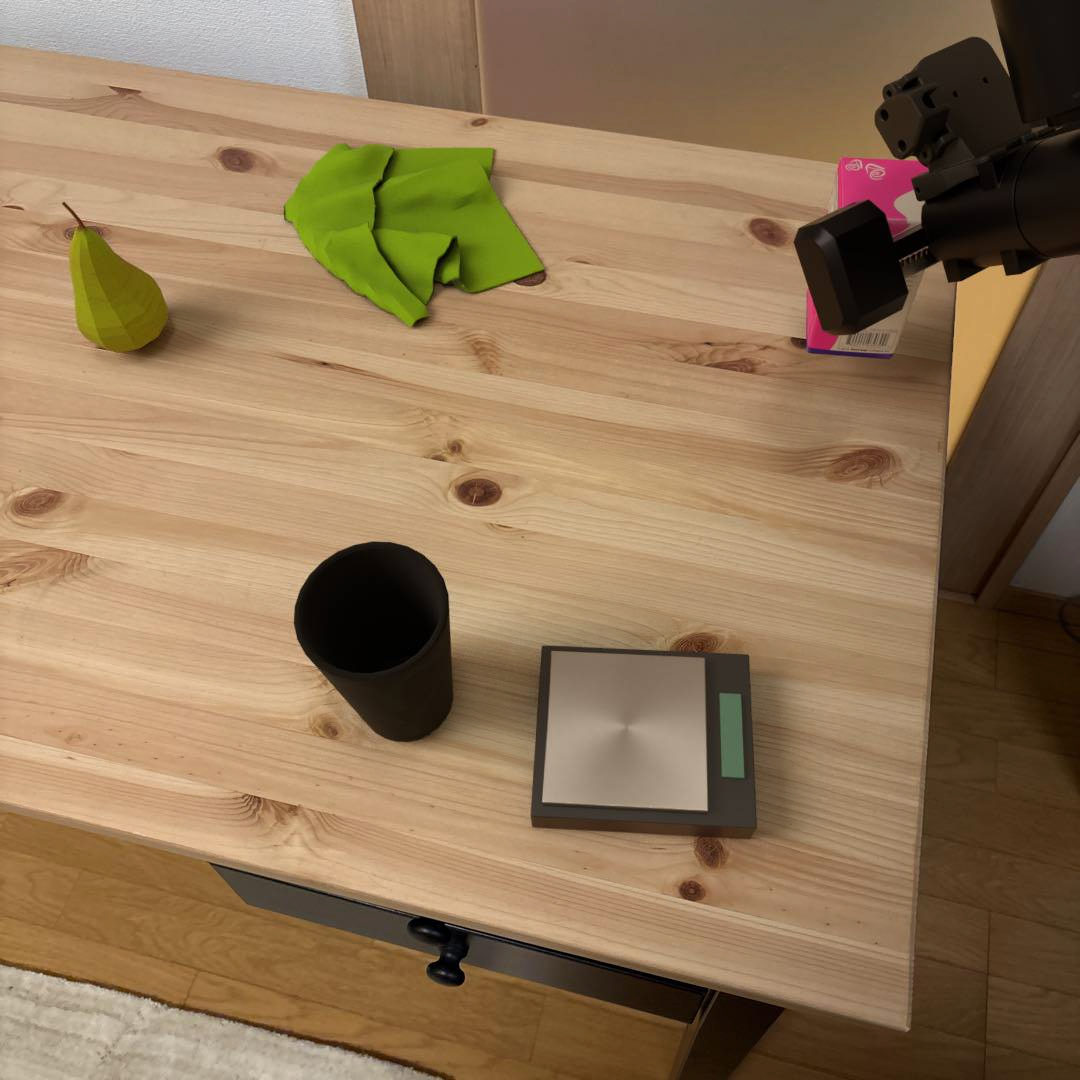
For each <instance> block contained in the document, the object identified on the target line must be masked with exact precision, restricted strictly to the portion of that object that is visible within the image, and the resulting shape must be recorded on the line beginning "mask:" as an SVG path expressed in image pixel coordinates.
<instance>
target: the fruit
mask: <svg viewBox="0 0 1080 1080" xmlns="http://www.w3.org/2000/svg"><path fill="white" fill-rule="evenodd" d="M61 205H62V206H63V207H64V208H65V209H66V210H67V211H68V212H69V213H70V214H71V216H72V217H73V218H74V219H75V221H76V222H77V224H78V225H77V226H76V227H75V228H74V232H73V235H72V239H71V242H70V246H69V250H68V264H69V267H68V268H69V272H70V278H71V283H72V288H73V289H72V290H73V296H74V311H75V322H76V325H77V329H78V331H79V332H80V333H81V334H82V336H83V337H84V338H85V339H87V340H88V341H89V342H91V343H93V344H95V345H97V346H99V347H101V348H104V349H105V350H108V351H109V352H113V353H115V354H119V353H120V354H121V353H125V352H129V351H135V350H140V349H141V348H142V347H144V346H146V345H147V344H149V343H151V342H153V341H154V340H155V339H157V338H159V336H160V335H161V333H162V331H163V329H164V328H165V326H166V324H167V322H168V320H169V315H170V312H169V311H170V310H169V308H168V305H167V303H166V300H165V298H164V297H165V296H164V294H163V291H162V290H161V289H162V288H161V287H160V286H159V284H158V283H157V281H156V280H155V279H154V278H153V276H151V275H150V274H149V273H148V272H145V271H144V270H142V269H141V268H139V267H138V266H135V265H134V264H132V263H130V262H128V261H127V260H126V259H124V258H123V257H122V256H120V254H117V252H115V251H114V250H113V248H112V247H111V246H110V245H109V244H108V243H107V241H106V240H105V239H104V238H103V237H102V236H101V235H99V233H97V232H96V231H94V230H92V229H90V228H89V227H87V226H86V225H85V224H84V223H83V221H82V219H81V218H80V217H79V216H78V214H77V213H76V212H75V211H74V210H73V208H71V207H70V206H69V205H68V203H66V202H65V201H63V202H61Z"/></svg>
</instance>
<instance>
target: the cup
mask: <svg viewBox="0 0 1080 1080" xmlns="http://www.w3.org/2000/svg"><path fill="white" fill-rule="evenodd" d="M449 595H450V594H449V591H448V588H447V584H446V581H445V578H444V577H443V575H442V573H441V572H440V571H439V569H438V567H437V566H436V564H434V562H432V560H430V559H429V558H428V557H427V556H426V555H425V554H423V553H421V552H420V551H418V550H416V549H414V548H413V547H410V546H408V545H404V544H401V543H397V542H393V541H367V542H362V543H356V544H353V545H349V546H347V547H345V548H342V549H340V550H338V551H336V552H334V553H333V554H331V555H330V556H328V557H327V558H326V559H324V560H322V561H321V562H320V563H319V564H318V565H317V566H316V567H315V568H314V569H313V570H312V571H311V572H310V573H309V575H308V576H307V578H306V580H305V581H304V582H303V584H302V586H301V588H300V590H299V592H298V595H297V598H296V601H295V604H294V610H293V611H294V612H293V626H294V631H295V636H296V640H297V643H298V644H299V646H300V647H301V649H302V652H303V653H304V655H305V656H306V657H307V658H308V659H309V660H310V662H311V663H312V664H313V665H314V666H315V667H316V668H317V670H318V671H319V672H320V673H321V674H322V675H323V676H324V677H325V678H326V680H327V681H328V682H329V683H330V684H331V685H332V686H333V687H334V689H335V690H336V691H337V692H338V693H339V695H341V697H342V698H343V699H344V700H345V701H346V702H347V703H348V704H349V706H350V707H351V708H352V709H353V710H354V711H355V712H356V714H357V715H358V716H359V717H360V718H361V719H362V720H363V722H364V723H365V724H366V725H367V726H368V727H369V728H370V729H371V730H372V731H373V732H374V734H375V735H376V734H377V736H380V737H381V738H383V739H385V740H388V741H391V742H392V741H393V742H395V743H409V742H415V741H419V740H421V739H423V738H426V737H428V736H430V735H432V734H433V733H434V732H436V731H437V730H438V729H439V728H440V727H441V726H442V724H444V722H445V721H446V720H447V718H448V716H449V714H450V712H451V710H452V707H453V706H452V705H453V701H454V683H453V681H454V680H453V660H452V641H451V640H452V638H451V636H452V635H451V618H450V616H451V615H450V596H449Z"/></svg>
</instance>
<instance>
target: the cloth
mask: <svg viewBox="0 0 1080 1080" xmlns="http://www.w3.org/2000/svg"><path fill="white" fill-rule="evenodd" d="M494 151H495V149H494V147H457V146H455V147H419V148H395V147H392V146H388V145H384V144H378V143H367V144H365V145H362V146H359V147H356V148H352V147H351V146H350V145H349V144H348V143H347V142H343V143H342V142H341V143H336V144H335V145H333V146H332V147H331V148H330V149H329V150H328V151H327V152H326V153H325V154H323V156H322V157H320V158H319V159H318V160H317V161H316V162H315V163H313V166H312V167H311V169H310V171H309V172H308V173H307V174H306V175H304V176H303V177H302V178H301V179H300V181H298V183H297V186H296V188H295V189H294V191H293V193H292V194H291V195H290V197H289V198H288V200H287V201H286V202H285V203H284V205H283V220H284V221H286V222H287V221H288V222H291V223H292V224H293V227H294V228H295V231H296V233H297V234H298V237H299V239H300V241H301V242H302V244H303V246H304V247H305V248H306V249H307V250H308V251H309V253H310V254H311V255H312V256H313V258H314V259H315V260H316V261H317V262H318V264H320V265H321V266H322V267H324V268H326V270H327V271H328V272H329V273H330V274H331V275H332V276H333V277H334V278H336V279H338V280H340V281H341V282H343V283H344V284H345V285H346V287H348V288H349V289H350V290H352V292H353V293H355V294H357V295H359V296H361V297H364V298H365V299H368V300H369V301H370V302H371V303H372V304H374V306H376V307H377V308H379V309H381V310H383V311H384V312H386V313H389V314H391V315H395V316H396V317H398V318H399V319H400V320H401V321H402V322H403V323H404V324H405V325H407V326H408V327H409V328H412V327H413V326H414V324H415V323H416V322H417V321H418V320H420V319H423V318H428V317H430V314H429V312H428V309H427V305H428V303H429V301H430V300H431V297H432V295H433V293H434V281H435V282H438V283H441V284H443V285H453V286H454V287H455V288H456V289H458V290H460V291H464V292H466V293H479V292H480V293H481V292H483V291H486V290H489V289H492V288H495V287H498V286H502V285H505V284H508V283H511V282H513V281H516V280H520V279H523V278H526V277H529V276H532V275H534V274H537V273H540V272H543V271H545V268H544V266H543V265H542V263H541V261H540V259H539V258H538V256H537V254H535V252H534V250H533V249H532V248H531V246H530V245H529V243H528V242H527V240H526V238H525V237H524V236H523V234H522V232H521V230H519V228H518V226H517V225H516V224H515V222H514V220H513V219H512V218H511V216H510V215H509V212H508V211H507V210H506V209H505V207H504V206H503V204H502V203H501V202H500V200H499V198H498V196H497V194H496V192H495V191H494V189H493V186H492V185H491V182H490V178H491V173H492V166H493V160H494V159H493V158H494Z"/></svg>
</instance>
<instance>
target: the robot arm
mask: <svg viewBox="0 0 1080 1080" xmlns="http://www.w3.org/2000/svg"><path fill="white" fill-rule="evenodd" d="M990 4H991V8H992V12H993V13H992V14H993V16H994V19H995V20H994V21H995V25H996V28H997V33H998V36H999V40H1000V45H1001V49H1002V52H1003V56H1004V59H1005V64H1006V67H1007V70H1006V68H1005V67H1004V65H1003V64H1002V63H1003V62H1002V61H1001V60H1000V58H999V56H998V55H997V52H995V49H994V48H993V46H992V45H991V44H990V43H989V41H987V40H986V39H984V38H982V37H980V36H969V37H966V38H964V39H961V40H960V41H957V42H955V43H953V44H950V45H949V46H946V47H943V48H942V49H940V50H937V51H935V52H933V53H931V54H928V55H926V56H924V57H922V58H921V59H920V60H919V61H918V62H917V64H916V65H915V66H914V67H913V68H912V69H911V70H910V71H909V72H907V73H906V74H905V73H904V74H903V76H902V77H900V78H898V79H895V80H893V81H892V82H889V83H887V84H885V85H884V86H883V88H882V90H881V94H882V98H883V102H882V103H881V104H880V105H879V106H878V108H877V109H876V110H875V111H874V126H875V128H876V129H877V131H878V133H879V135H880V136H881V138H882V140H883V141H884V144H885V145H886V147H887V149H888V150H889V152H890V153H891V155H892V156H893V157H894V158H895V159H896V160H907V159H908V158H910V157H914V158H916V159H917V161H919V162H920V163H921V164H922V165H923V166H925V167H927V168H928V170H929V171H927V172H923V173H921V174H919V175H917V176H915V177H913V178H911V182H912V185H913V189H914V192H915V196H916V199H917V201H919V202H922V201H924V204H923V206H922V210H921V224H919V225H917V226H915V227H913V228H911V229H909V230H907V231H905V232H903V233H901V234H899V235H897V236H895V237H893V238H892V234H891V231H890V228H889V224H888V221H887V218H886V214H885V213H884V212H883V211H882V210H881V209H880V208H878V207H877V206H876V205H875V204H874V203H873V202H872V201H870V200H869V199H868V200H864V201H860V202H853V203H851V204H849V205H847V206H845V207H843V208H840V209H838V210H835V211H833V212H831V213H829V214H827V215H826V214H825V215H823V216H821V217H819V218H817V219H814V220H812V221H811V222H808V223H805V224H804V225H802V226H799V227H798V229H797V231H796V233H795V237H794V239H793V246H794V248H795V251H796V254H797V257H798V261H799V264H800V267H801V269H802V273H803V276H804V279H805V281H806V285H807V289H808V288H809V291H810V294H811V297H812V300H813V303H814V306H815V309H816V312H817V316H818V319H819V322H820V325H821V328H822V331H824V332H826V333H829V334H831V335H833V336H840V335H854V334H856V333H858V332H860V331H862V330H864V329H866V328H868V327H870V326H872V325H874V324H876V323H878V322H880V321H881V320H883V319H885V318H887V317H889V316H891V315H893V314H895V313H897V312H899V311H901V310H902V309H903V306H904V304H905V301H906V299H907V296H908V294H909V291H908V288H907V285H906V281H905V279H907V278H909V277H911V276H913V275H915V274H917V273H919V272H921V271H923V270H925V271H926V270H927V269H929V268H931V267H932V266H935V265H938V263H941V262H942V266H943V270H944V273H945V276H946V280H947V284H950V283H952V284H953V283H959V282H963V281H965V280H967V279H970V278H971V277H972V276H975V275H977V274H979V273H981V272H982V271H985V270H986V269H988V268H991V267H992V268H993V267H1000V266H1002V267H1003V270H1004V275H1005V277H1009V276H1017V275H1018V276H1019V275H1023V274H1024V273H1026V272H1028V271H1030V270H1032V269H1034V268H1036V267H1037V266H1040V265H1041V264H1043V263H1046V262H1047V261H1049V260H1051V259H1060V258H1064V257H1072V256H1073V257H1074V256H1080V0H990ZM925 247H928V248H925ZM923 248H924V249H923ZM921 249H923V251H919V250H921ZM917 251H918V252H917ZM915 252H917V254H913V253H915ZM911 254H912V256H910V257H907V256H909V255H911ZM905 257H906V259H903V258H905ZM901 259H903V260H901ZM899 260H901V262H900V261H899Z"/></svg>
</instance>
